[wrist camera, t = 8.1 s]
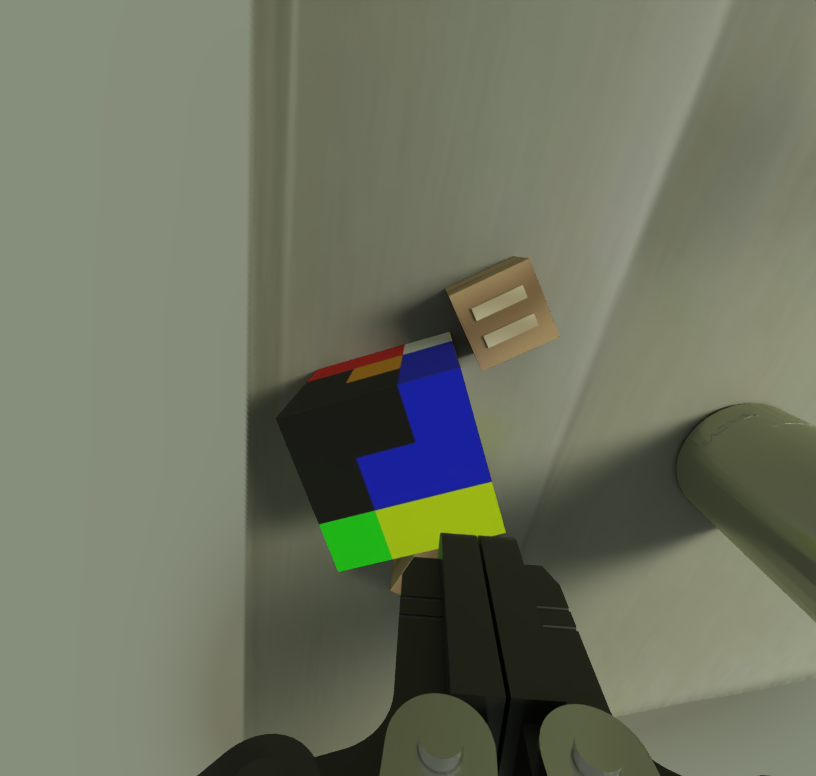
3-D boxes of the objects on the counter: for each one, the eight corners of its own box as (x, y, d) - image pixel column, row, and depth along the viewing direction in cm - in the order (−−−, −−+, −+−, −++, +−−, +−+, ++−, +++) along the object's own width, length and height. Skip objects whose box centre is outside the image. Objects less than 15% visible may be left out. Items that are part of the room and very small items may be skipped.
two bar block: (539, 323, 32) (560, 337, 27) (473, 352, 33) (482, 371, 28) (513, 256, 31) (529, 258, 26) (445, 288, 32) (448, 296, 27)
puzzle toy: (449, 331, 33) (460, 367, 23) (483, 455, 35) (505, 532, 26) (317, 369, 34) (276, 418, 24) (360, 486, 37) (338, 571, 27)
